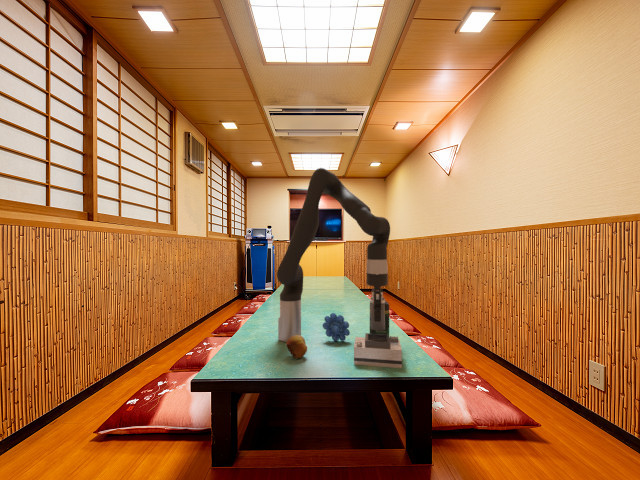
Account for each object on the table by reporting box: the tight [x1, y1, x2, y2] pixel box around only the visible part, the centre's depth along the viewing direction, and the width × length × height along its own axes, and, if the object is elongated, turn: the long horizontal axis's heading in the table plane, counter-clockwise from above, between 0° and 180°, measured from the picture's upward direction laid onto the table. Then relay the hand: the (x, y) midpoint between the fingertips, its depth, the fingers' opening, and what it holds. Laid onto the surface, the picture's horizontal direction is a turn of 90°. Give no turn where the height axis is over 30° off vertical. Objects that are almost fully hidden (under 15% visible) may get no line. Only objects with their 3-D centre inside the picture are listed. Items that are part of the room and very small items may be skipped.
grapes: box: [322, 312, 351, 342], centre depth 122 cm, size 12×7×12 cm, turn 84°
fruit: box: [285, 335, 308, 360], centre depth 106 cm, size 8×8×8 cm
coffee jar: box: [369, 300, 390, 336], centre depth 119 cm, size 10×8×19 cm
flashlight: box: [369, 296, 386, 331], centre depth 104 cm, size 5×5×11 cm
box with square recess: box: [353, 332, 403, 369], centre depth 104 cm, size 16×11×8 cm
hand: (377, 319), depth 104 cm, fingers closed on flashlight, 5 cm apart
